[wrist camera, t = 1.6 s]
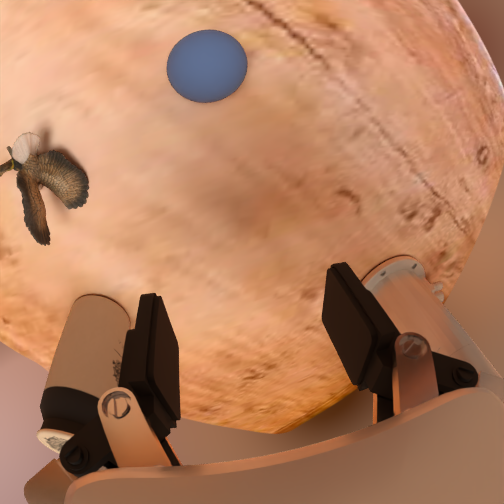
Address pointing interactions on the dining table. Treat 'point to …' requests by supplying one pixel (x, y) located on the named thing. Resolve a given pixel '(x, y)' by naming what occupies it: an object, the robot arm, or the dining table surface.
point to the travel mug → (82, 368)
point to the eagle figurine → (43, 182)
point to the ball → (207, 66)
